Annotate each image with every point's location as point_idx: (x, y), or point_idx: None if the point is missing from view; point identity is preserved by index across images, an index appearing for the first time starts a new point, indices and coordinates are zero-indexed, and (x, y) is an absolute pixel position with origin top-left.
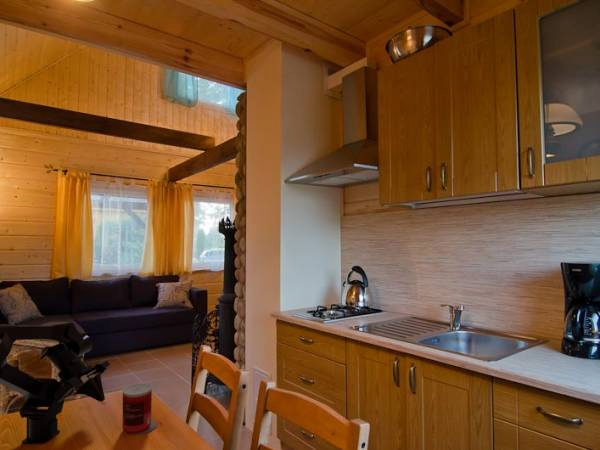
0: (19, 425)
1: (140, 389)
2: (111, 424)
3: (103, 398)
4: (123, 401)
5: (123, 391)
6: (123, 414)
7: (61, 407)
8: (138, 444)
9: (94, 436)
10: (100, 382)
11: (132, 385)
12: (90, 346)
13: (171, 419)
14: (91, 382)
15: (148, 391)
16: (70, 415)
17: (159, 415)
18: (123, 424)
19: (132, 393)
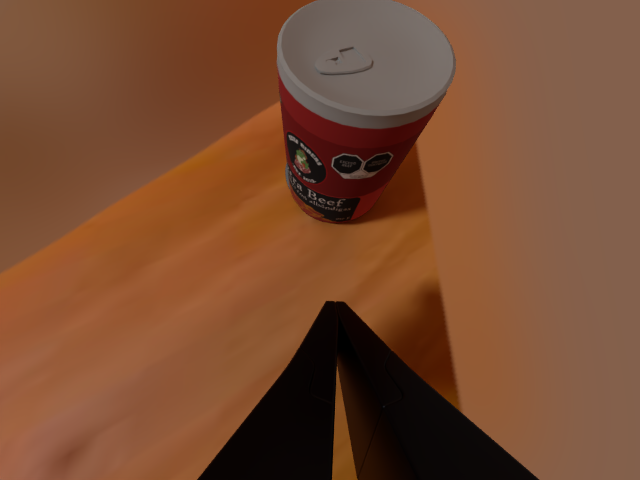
0: None
1: (353, 45)
2: (305, 286)
3: (342, 303)
4: (413, 141)
5: (418, 106)
6: (388, 180)
7: None
8: (417, 151)
9: (392, 301)
10: (297, 382)
11: (313, 87)
12: None
13: (276, 117)
14: (495, 453)
15: (383, 1)
16: None
17: (245, 156)
18: (375, 201)
19: (412, 67)
